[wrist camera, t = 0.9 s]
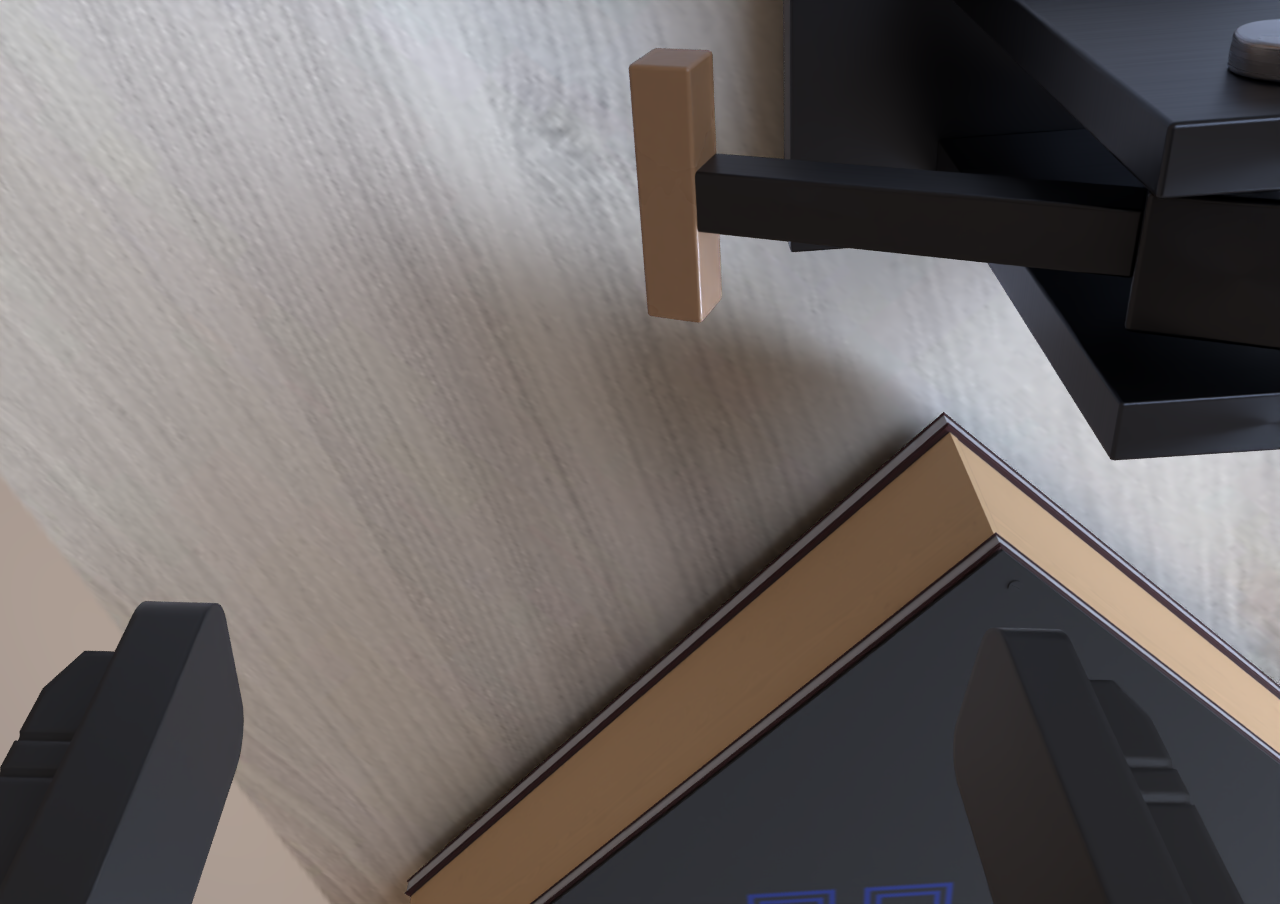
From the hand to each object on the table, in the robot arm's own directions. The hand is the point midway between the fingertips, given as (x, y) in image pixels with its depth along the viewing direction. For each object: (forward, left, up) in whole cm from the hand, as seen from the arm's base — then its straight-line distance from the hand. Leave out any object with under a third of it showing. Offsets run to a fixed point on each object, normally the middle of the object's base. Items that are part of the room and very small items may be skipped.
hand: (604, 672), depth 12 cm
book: (+23, +5, -18) cm, 29 cm away
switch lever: (-1, +6, -10) cm, 11 cm away
